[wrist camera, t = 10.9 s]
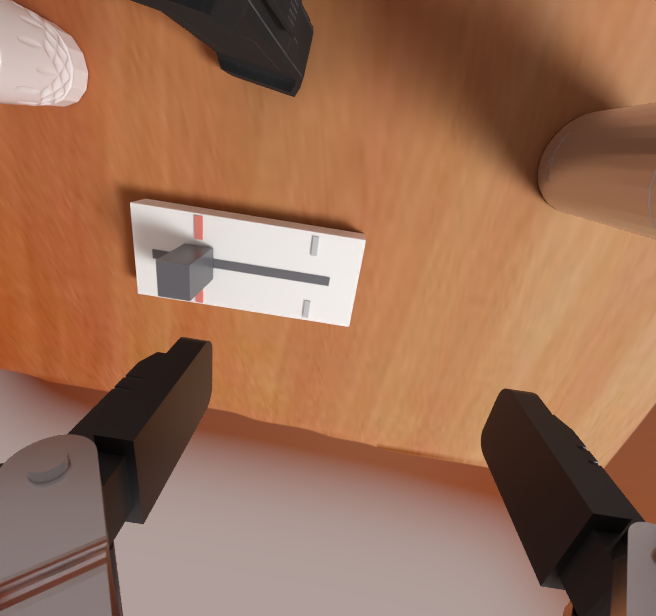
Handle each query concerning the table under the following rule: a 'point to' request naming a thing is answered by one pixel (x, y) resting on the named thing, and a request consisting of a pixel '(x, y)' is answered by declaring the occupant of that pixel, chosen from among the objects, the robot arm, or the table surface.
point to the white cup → (38, 60)
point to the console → (254, 260)
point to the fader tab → (184, 271)
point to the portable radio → (249, 36)
